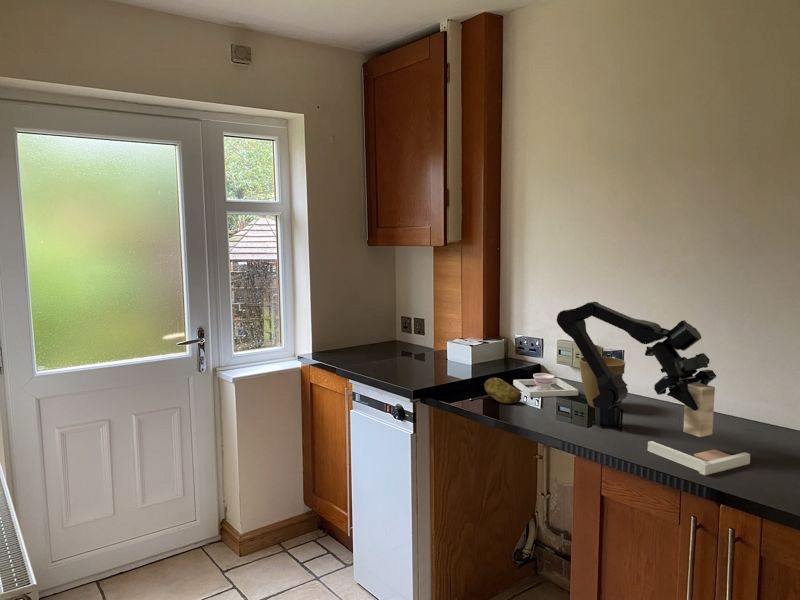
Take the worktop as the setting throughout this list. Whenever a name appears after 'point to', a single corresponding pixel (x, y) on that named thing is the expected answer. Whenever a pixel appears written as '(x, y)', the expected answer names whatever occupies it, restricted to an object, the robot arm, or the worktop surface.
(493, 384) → the potato
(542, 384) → the teacup
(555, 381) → the saucer tray
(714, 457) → the corner arena
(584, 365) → the plant pot
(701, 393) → the birch block
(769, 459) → the worktop surface
